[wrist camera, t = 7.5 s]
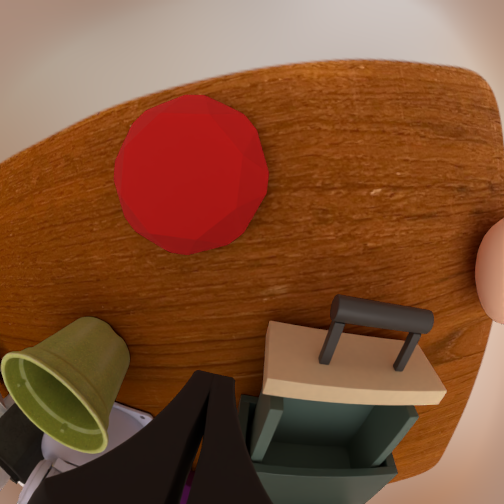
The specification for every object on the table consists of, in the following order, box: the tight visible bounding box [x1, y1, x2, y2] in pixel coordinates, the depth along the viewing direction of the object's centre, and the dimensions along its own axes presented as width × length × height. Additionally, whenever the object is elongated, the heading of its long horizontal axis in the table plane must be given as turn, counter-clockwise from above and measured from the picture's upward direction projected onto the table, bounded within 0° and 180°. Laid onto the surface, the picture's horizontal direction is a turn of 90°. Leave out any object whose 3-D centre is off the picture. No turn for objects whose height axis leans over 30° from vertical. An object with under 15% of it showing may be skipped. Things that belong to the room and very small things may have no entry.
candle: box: [0, 403, 44, 491], centre depth 14 cm, size 5×5×25 cm
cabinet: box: [237, 394, 398, 504], centre depth 21 cm, size 14×13×8 cm
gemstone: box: [114, 95, 269, 255], centre depth 16 cm, size 9×9×3 cm
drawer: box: [246, 294, 447, 469], centre depth 18 cm, size 17×11×6 cm
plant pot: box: [1, 317, 130, 454], centre depth 18 cm, size 9×9×9 cm
